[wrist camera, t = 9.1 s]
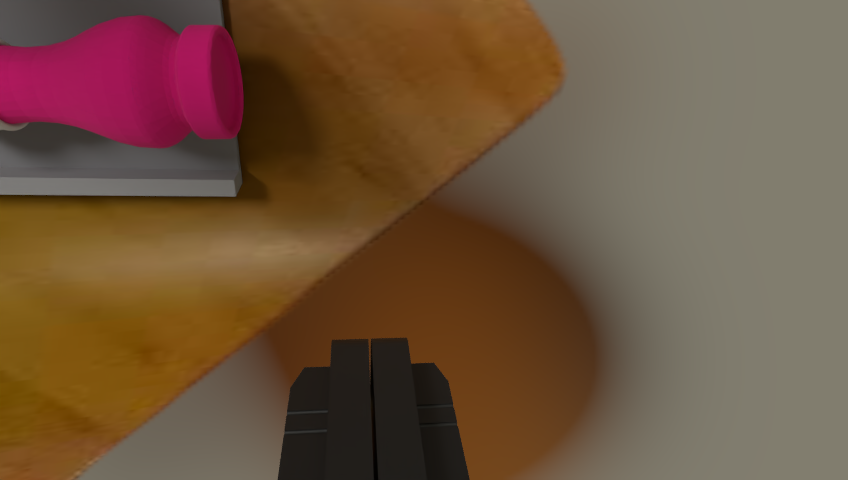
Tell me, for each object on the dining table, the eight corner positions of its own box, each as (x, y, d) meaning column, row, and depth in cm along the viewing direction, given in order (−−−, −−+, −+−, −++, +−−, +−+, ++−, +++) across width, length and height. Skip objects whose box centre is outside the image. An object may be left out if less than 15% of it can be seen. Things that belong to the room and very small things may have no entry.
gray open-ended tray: (-84, 178, 35) (-112, 193, 33) (-209, -108, 27) (-256, -112, 25) (242, 182, 38) (235, 196, 36) (212, -77, 30) (202, -79, 28)
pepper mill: (227, -6, 30) (-143, -7, 29) (196, 50, 25) (-255, 52, 24) (252, 106, 35) (-62, 109, 34) (231, 172, 30) (-140, 178, 29)
